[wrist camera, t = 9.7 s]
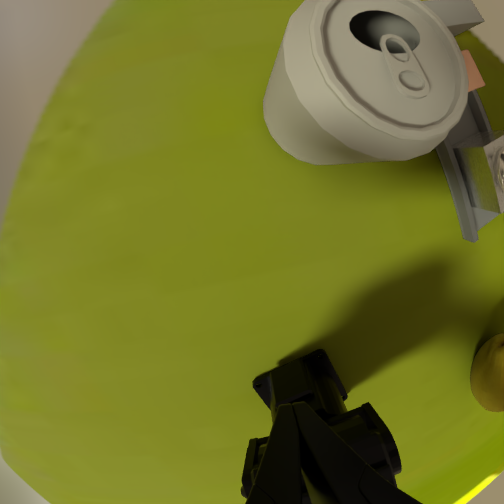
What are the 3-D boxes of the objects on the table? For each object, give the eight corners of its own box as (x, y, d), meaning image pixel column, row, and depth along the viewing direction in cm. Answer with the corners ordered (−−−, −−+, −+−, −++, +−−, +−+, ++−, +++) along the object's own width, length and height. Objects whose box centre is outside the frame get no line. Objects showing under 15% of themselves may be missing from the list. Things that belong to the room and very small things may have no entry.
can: (352, 59, 18) (444, -19, 6) (377, 157, 20) (500, 152, 8) (250, 71, 18) (263, -36, 6) (275, 175, 20) (324, 176, 8)
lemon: (502, 365, 26) (538, 398, 18) (457, 400, 26) (490, 441, 19) (505, 298, 23) (554, 328, 16) (455, 336, 24) (503, 379, 16)
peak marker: (459, 92, 18) (485, 85, 14) (429, 104, 18) (456, 96, 15) (443, 60, 17) (467, 49, 14) (412, 69, 17) (436, 57, 14)
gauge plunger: (494, 185, 20) (535, 191, 15) (465, 205, 20) (508, 215, 15) (477, 132, 19) (519, 129, 14) (447, 148, 19) (490, 146, 14)
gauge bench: (503, 209, 21) (550, 220, 15) (463, 238, 21) (513, 258, 15) (428, 24, 17) (469, -2, 10) (377, 35, 17) (416, 1, 11)
